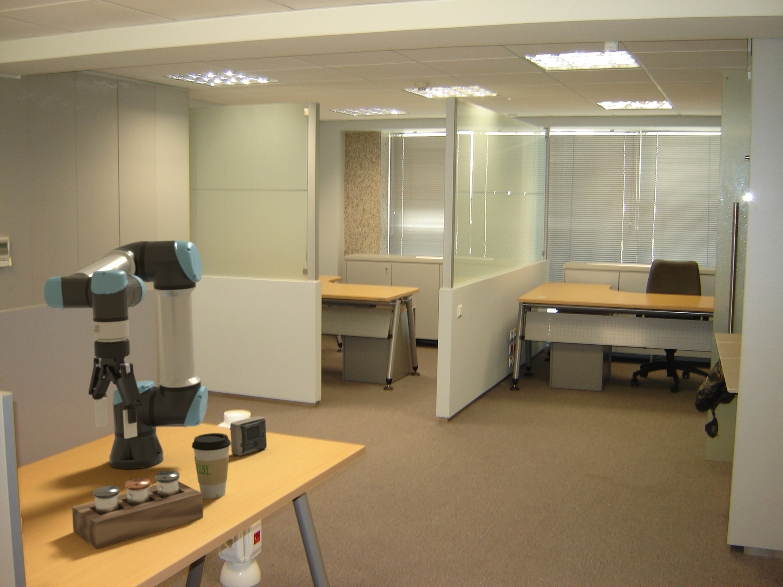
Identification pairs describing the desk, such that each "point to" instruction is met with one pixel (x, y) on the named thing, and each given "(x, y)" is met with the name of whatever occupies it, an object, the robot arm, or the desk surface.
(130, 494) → the terracotta plunger
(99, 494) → the grey plunger front
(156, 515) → the wooden jar holder
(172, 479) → the ball
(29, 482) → the desk surface
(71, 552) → the desk surface
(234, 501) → the desk surface
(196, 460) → the coffee cup
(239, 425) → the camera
